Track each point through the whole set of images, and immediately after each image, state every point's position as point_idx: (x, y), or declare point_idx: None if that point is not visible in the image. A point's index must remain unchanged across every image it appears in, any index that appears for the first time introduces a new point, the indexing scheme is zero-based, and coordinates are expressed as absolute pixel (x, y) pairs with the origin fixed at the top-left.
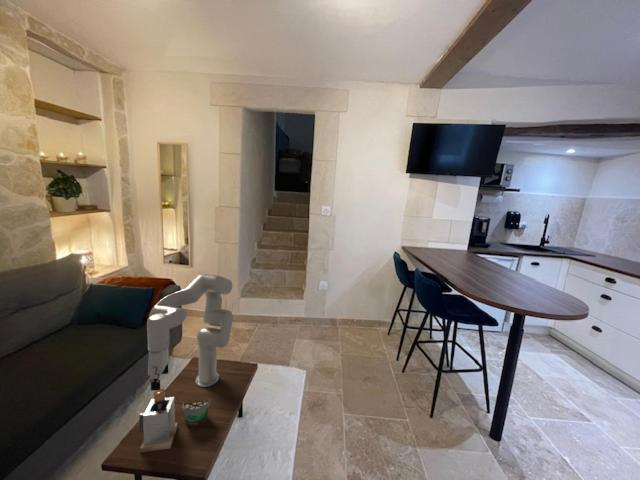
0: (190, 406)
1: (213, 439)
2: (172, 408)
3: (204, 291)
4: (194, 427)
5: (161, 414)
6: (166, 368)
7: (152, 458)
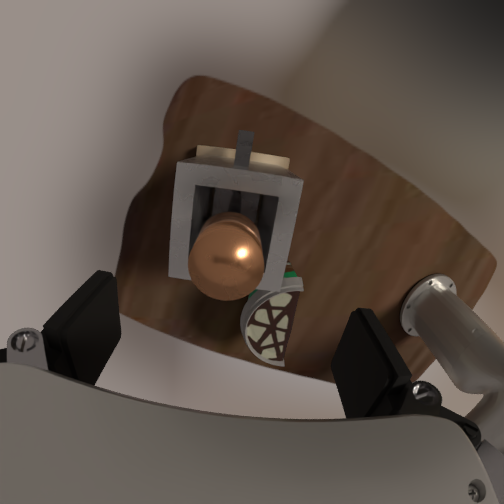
0: (274, 310)
1: (193, 330)
2: None
3: None
4: None
5: (170, 247)
6: (347, 403)
7: (169, 185)
